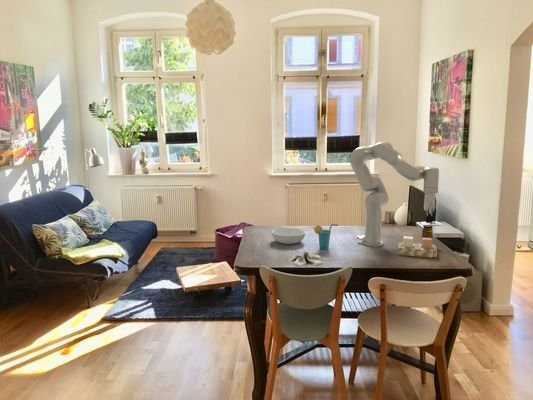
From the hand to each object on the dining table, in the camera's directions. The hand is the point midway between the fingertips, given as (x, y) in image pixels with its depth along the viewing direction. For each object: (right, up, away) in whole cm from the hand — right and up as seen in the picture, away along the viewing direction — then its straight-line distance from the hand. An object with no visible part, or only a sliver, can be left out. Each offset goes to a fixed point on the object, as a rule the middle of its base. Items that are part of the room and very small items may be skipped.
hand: (428, 222), depth 234 cm
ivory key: (-10, -15, +6) cm, 19 cm away
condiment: (+6, -15, +21) cm, 27 cm away
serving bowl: (-77, -14, +27) cm, 83 cm away
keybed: (-5, -18, +5) cm, 19 cm away
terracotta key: (0, -15, +3) cm, 16 cm away
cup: (-56, -16, +13) cm, 60 cm away
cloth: (-70, -21, -8) cm, 74 cm away
